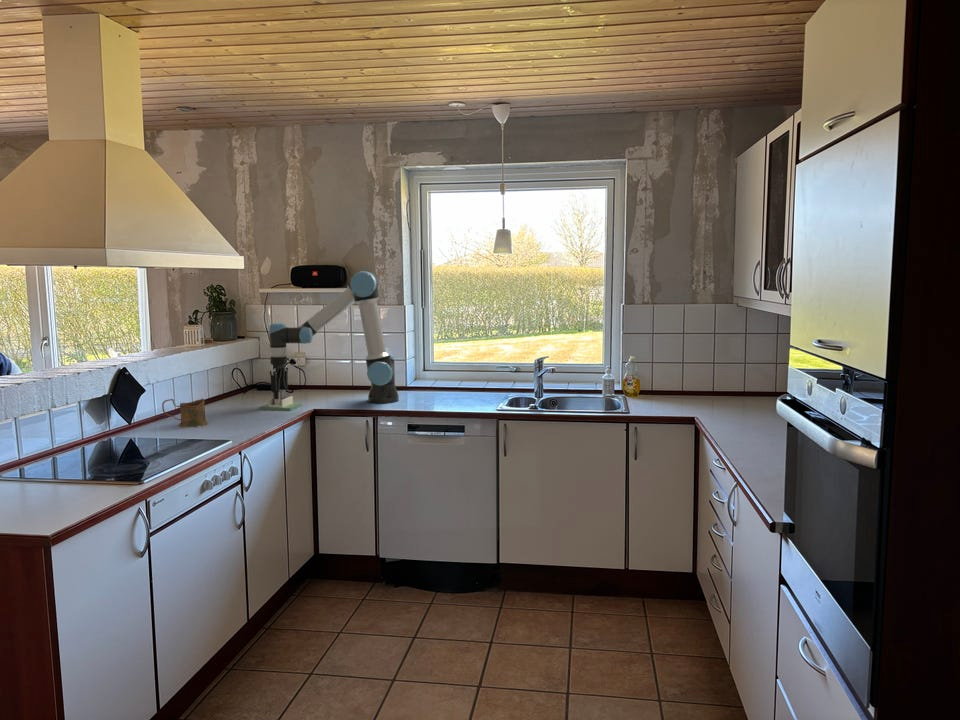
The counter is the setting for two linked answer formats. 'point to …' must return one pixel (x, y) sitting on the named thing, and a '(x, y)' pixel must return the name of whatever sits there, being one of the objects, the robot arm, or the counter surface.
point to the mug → (191, 413)
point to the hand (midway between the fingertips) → (280, 404)
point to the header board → (285, 405)
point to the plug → (281, 395)
